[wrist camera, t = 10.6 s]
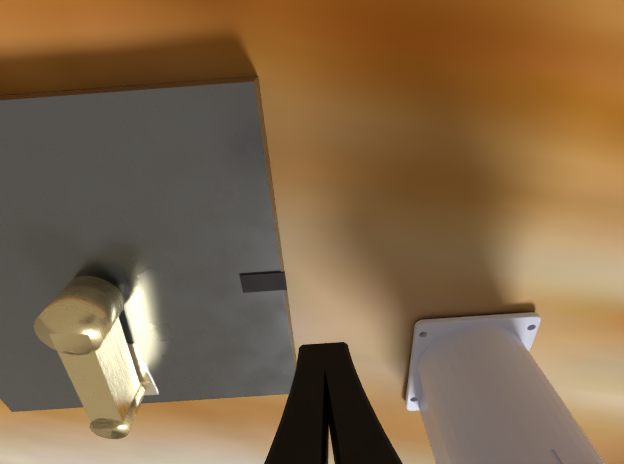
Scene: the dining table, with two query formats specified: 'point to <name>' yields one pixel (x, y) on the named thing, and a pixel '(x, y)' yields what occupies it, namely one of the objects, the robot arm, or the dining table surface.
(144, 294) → the lock plate
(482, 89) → the dining table surface
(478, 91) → the dining table surface
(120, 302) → the lever
